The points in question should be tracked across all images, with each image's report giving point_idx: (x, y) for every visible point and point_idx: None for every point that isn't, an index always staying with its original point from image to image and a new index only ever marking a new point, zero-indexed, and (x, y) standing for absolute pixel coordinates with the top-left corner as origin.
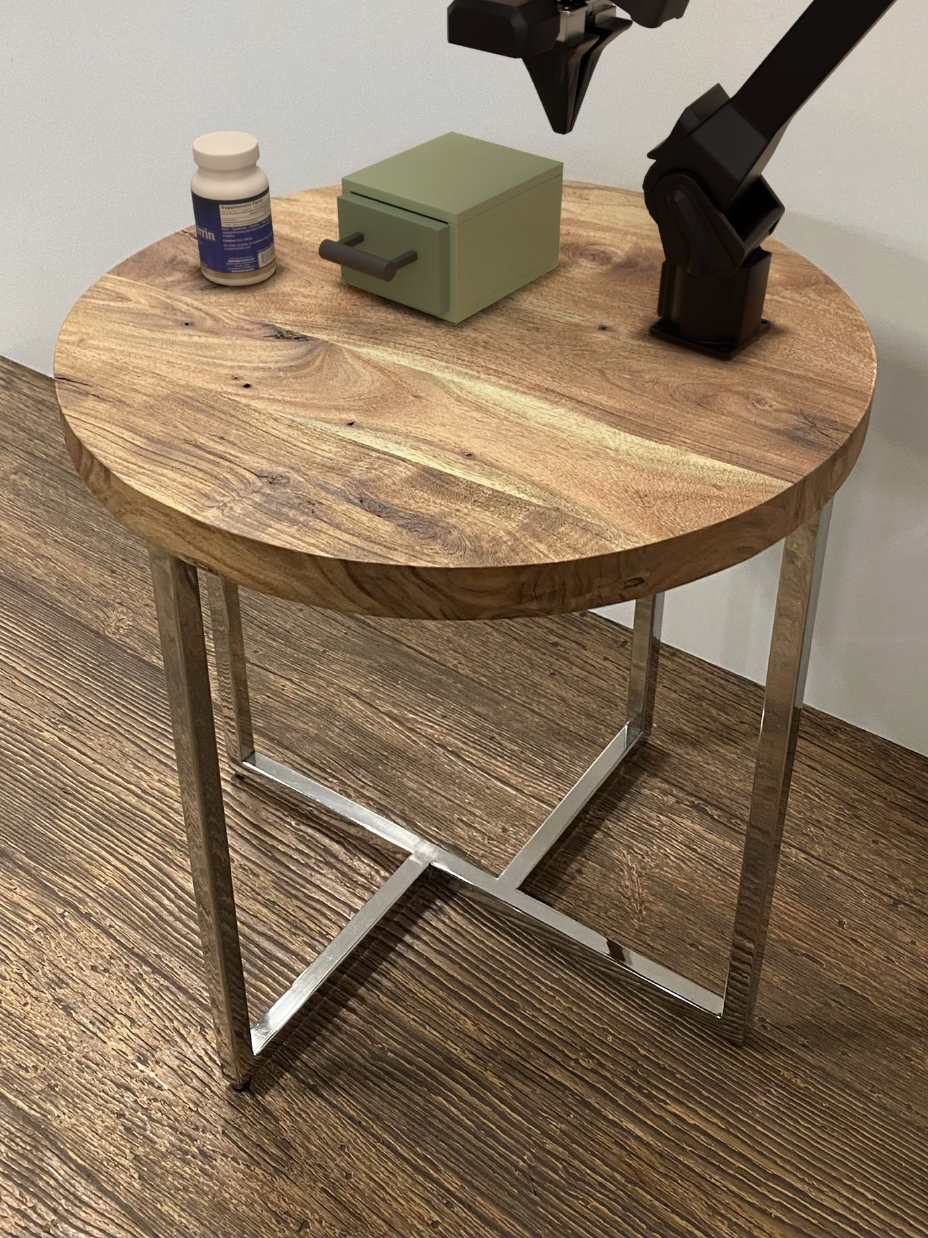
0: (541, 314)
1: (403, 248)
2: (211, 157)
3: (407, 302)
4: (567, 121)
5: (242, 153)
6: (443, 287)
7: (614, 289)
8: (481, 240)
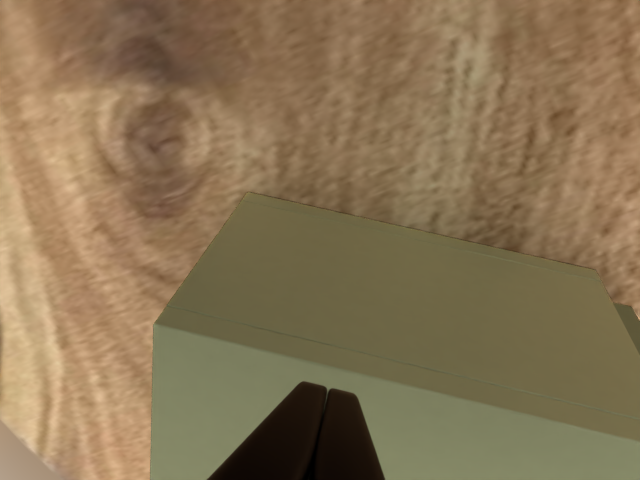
0: (480, 135)
1: None
2: None
3: None
4: (359, 436)
5: None
6: (638, 339)
7: (282, 35)
8: (546, 347)
